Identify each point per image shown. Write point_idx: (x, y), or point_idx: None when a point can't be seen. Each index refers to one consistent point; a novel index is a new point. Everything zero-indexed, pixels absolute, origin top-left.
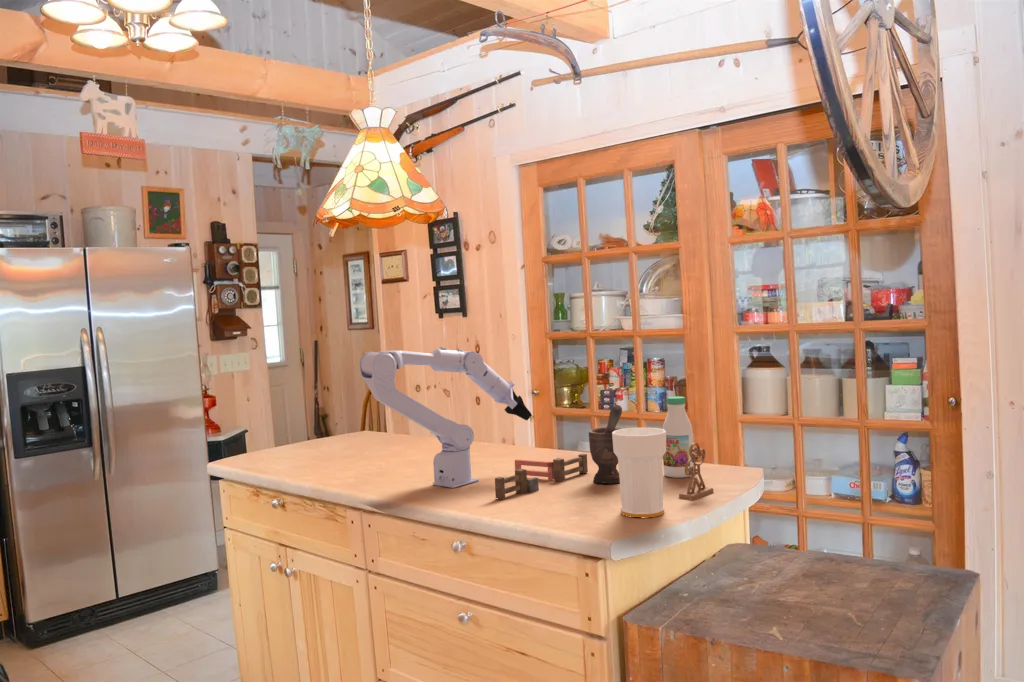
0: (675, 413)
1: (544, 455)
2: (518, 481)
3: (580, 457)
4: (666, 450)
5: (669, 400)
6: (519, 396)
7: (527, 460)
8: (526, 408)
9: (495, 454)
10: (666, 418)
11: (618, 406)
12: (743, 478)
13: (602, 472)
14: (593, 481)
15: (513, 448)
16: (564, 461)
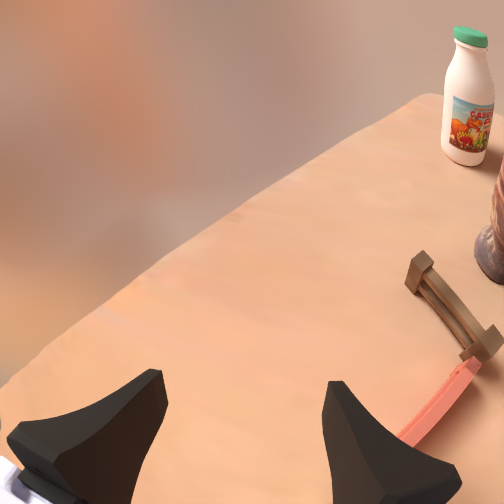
0: (486, 61)
1: (166, 312)
2: None
3: (435, 271)
4: (484, 129)
5: (484, 40)
6: (414, 498)
7: (416, 432)
8: (376, 421)
9: (97, 394)
10: (479, 74)
11: None
12: None
13: None
14: (502, 283)
15: (80, 339)
16: (472, 324)
